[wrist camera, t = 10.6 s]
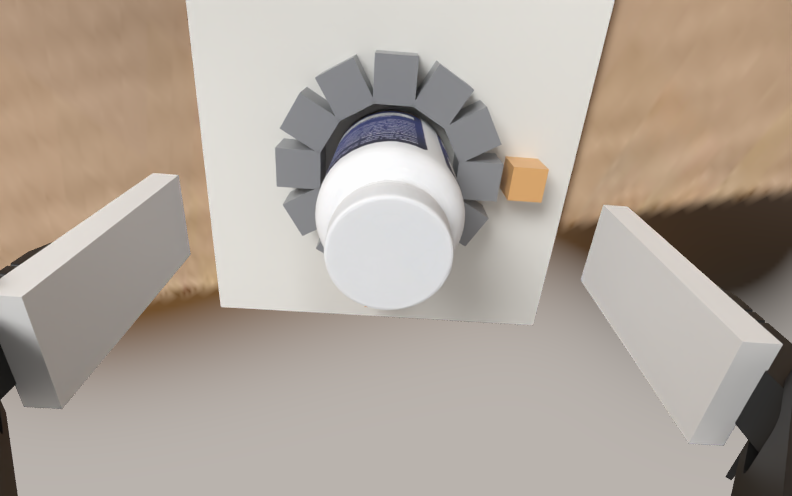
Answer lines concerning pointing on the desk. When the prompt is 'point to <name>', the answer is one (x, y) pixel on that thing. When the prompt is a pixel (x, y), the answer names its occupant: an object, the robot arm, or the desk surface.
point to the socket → (391, 89)
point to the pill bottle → (390, 211)
